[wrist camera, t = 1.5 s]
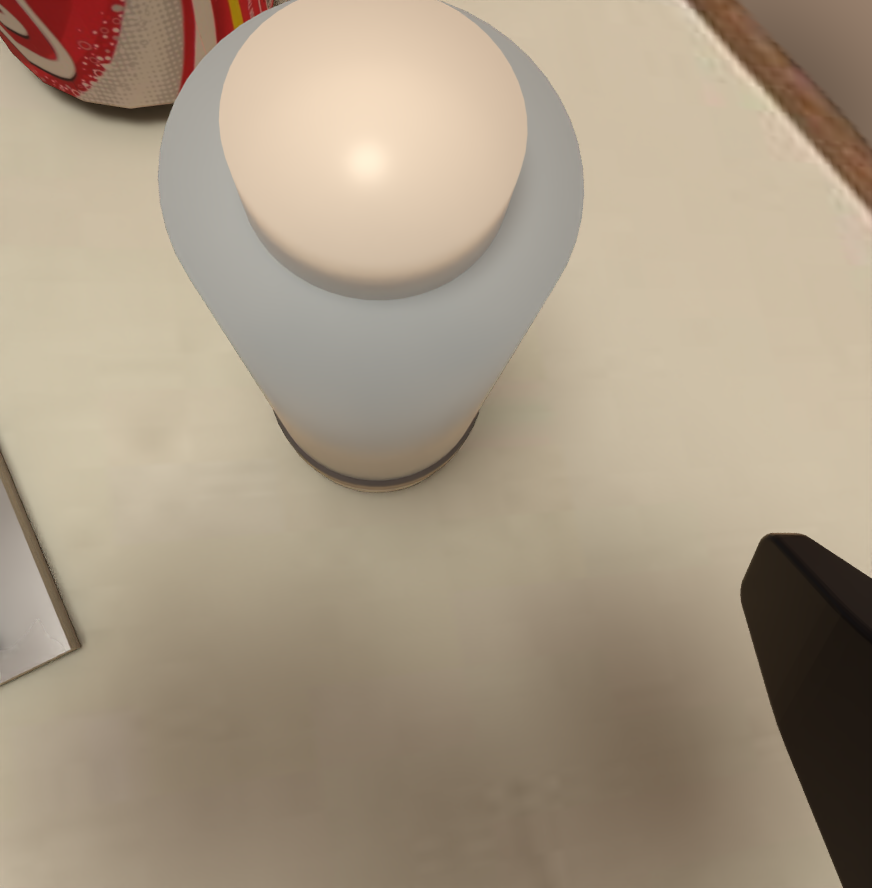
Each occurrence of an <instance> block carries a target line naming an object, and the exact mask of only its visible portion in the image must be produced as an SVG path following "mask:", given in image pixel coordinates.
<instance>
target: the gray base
mask: <svg viewBox="0 0 872 888" xmlns="http://www.w3.org/2000/svg"><path fill="white" fill-rule="evenodd" d="M79 647H81V646H80V643H79V641H78V638H77V636H76V634H75V631H74V629H73V626H72V624H71V621H70V619H69V617H68V614H67V612H66V609H65V607H64V604H63V602H62V600H61V597H60V595H59V592H58V590H57V588H56V585H55V583H54V580H53V578H52V575H51V573H50V571H49V568H48V566H47V563H46V561H45V559H44V556H43V554H42V551H41V549H40V546H39V544H38V542H37V539H36V537H35V534H34V532H33V529H32V527H31V525H30V522H29V520H28V517H27V515H26V513H25V510H24V508H23V505H22V503H21V500H20V498H19V496H18V493H17V491H16V488H15V486H14V484H13V481H12V479H11V476H10V474H9V471H8V469H7V467H6V464H5V462H4V459H3V457H2V454H1V452H0V686H1V685H3V684H5V683H7V682H9V681H11V680H14V679H16V678H18V677H20V676H22V675H24V674H26V673H28V672H30V671H32V670H34V669H36V668H38V667H40V666H42V665H44V664H46V663H49V662H51V661H53V660H55V659H57V658H59V657H61V656H63V655H65V654H67V653H69V652H71V651H73V650H75V649H77V648H79Z"/></svg>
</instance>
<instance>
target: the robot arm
mask: <svg viewBox="0 0 872 888" xmlns="http://www.w3.org/2000/svg"><path fill="white" fill-rule="evenodd" d="M740 596H741V603H742V607H743V611H744V614H745V617H746V621H747V624H748V628H749V631H750V635H751V638H752V642H753V645H754V649H755V652H756V655H757V659H758V662H759V666H760V669H761V673H762V676H763V680H764V683H765V687H766V690H767V693H768V697H769V700H770V704H771V707H772V710H773V713H774V716H775V719H776V722H777V725H778V728H779V731H780V733H781V736H782V739H783V741H784V744H785V746H786V749H787V751H788V754H789V756H790V759H791V761H792V764H793V766H794V768H795V771H796V773H797V776H798V778H799V781H800V783H801V786H802V788H803V791H804V793H805V795H806V798H807V800H808V803H809V805H810V808H811V810H812V813H813V815H814V818H815V820H816V822H817V825H818V827H819V830H820V832H821V835H822V837H823V840H824V842H825V845H826V847H827V849H828V852H829V854H830V857H831V859H832V862H833V864H834V867H835V869H836V872H837V874H838V876H839V879H840V881H841V884H842V886H843V888H872V578H870V577H869V576H867V575H866V574H864V573H862V572H861V571H859V570H858V569H856V568H855V567H853V566H852V565H850V564H849V563H847V562H846V561H844V560H843V559H841V558H840V557H838V556H837V555H835V554H834V553H832V552H831V551H829V550H827V549H826V548H824V547H823V546H821V545H820V544H818V543H817V542H815V541H814V540H812V539H811V538H809V537H807V536H806V535H803V534H798V533H770V534H767V535H765V536H764V537H763V538H762V539H761V541H760V542H759V544H758V547H757V549H756V551H755V554H754V556H753V558H752V560H751V563H750V565H749V567H748V569H747V572H746V574H745V576H744V579H743V581H742V584H741V594H740Z"/></svg>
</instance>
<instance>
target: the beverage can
mask: <svg viewBox="0 0 872 888" xmlns="http://www.w3.org/2000/svg"><path fill="white" fill-rule="evenodd" d="M273 2H274V0H0V36H1V38H2V39H3V41H4V42H5V44H6V45H7V46H8V48H9V49H10V51H11V52H12V53H13V54H14V55H15V56H16V57H17V58H18V59H19V60H20V61H21V62H22V63H23V64H24V65H25V66H27V67H28V68H29V69H30V70H31V71H32V72H33V73H34V74H35V75H36V76H37V77H38V78H40V79H41V80H42V81H43V82H44V83H46V84H48V85H50V86H52V87H55V88H57V89H59V90H61V91H63V92H65V93H67V94H70V95H72V96H74V97H76V98H78V99H80V100H82V101H85V102H91V103H97V104H104V105H110V106H117V107H123V108H130V109H131V108H139V107H147V106H155V105H163V104H172V103H174V102H175V100H176V98H177V96H178V95H179V93H180V91H181V89H182V87H183V86H184V84H185V82H186V80H187V79H188V77H189V76H190V75H191V73H192V72H193V71H194V69H195V68H196V67H197V65H198V64H199V63H200V61H201V60H202V59H203V58H204V57H205V56H206V55H207V54H208V53H209V52H210V51H211V50H212V49H213V48H214V47H215V46H216V45H217V44H218V43H219V42H220V41H221V40H222V39H223V38H224V37H226V36H227V35H228V34H230V33H231V32H232V31H234V30H235V29H236V28H237V27H239V26H240V25H241V24H243V23H245V22H246V21H248V20H250V19H252V18H253V17H255V16H257V15H258V14H260V13H262V12H264V11H266V10H268V9H271V8H272V7H273Z"/></svg>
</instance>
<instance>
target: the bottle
mask: <svg viewBox="0 0 872 888" xmlns="http://www.w3.org/2000/svg"><path fill="white" fill-rule="evenodd" d="M158 183H159V196H160V205H161V209H162V214H163V218H164V223H165V227H166V230H167V233H168V235H169V238H170V241H171V243H172V246H173V248H174V251H175V254H176V256H177V257H178V259H179V261H180V263H181V265H182V266H183V268H184V270H185V272H186V273H187V275H188V277H189V279H190V280H191V282H192V283H193V285H194V287H195V288H196V290H197V291H198V293H199V294H200V296H201V297H202V299H203V301H204V302H205V304H206V305H207V307H208V308H209V310H210V311H211V313H212V315H213V316H214V318H215V319H216V321H217V322H218V324H219V325H220V327H221V329H222V330H223V332H224V333H225V335H226V336H227V338H228V339H229V341H230V343H231V344H232V346H233V347H234V349H235V350H236V352H237V354H238V355H239V357H240V358H241V360H242V361H243V363H244V364H245V366H246V368H247V369H248V371H249V372H250V374H251V375H252V377H253V378H254V380H255V382H256V383H257V385H258V386H259V388H260V389H261V391H262V392H263V394H264V396H265V397H266V399H267V400H268V402H269V403H270V405H271V406H272V408H273V411H274V413H275V416H276V418H277V421H278V424H279V425H280V427H281V429H282V431H283V433H284V434H285V436H286V438H287V439H288V441H289V442H290V444H291V445H292V446H293V448H294V449H295V450H296V452H297V453H298V454H299V455H300V456H301V457H302V458H303V459H304V460H305V461H306V462H307V463H308V464H309V465H310V466H311V467H313V468H314V469H315V470H316V471H318V472H319V473H321V474H322V475H324V476H325V477H326V478H328V479H330V480H331V481H333V482H335V483H337V484H339V485H342V486H344V487H347V488H350V489H354V490H357V491H363V492H371V493H383V492H391V491H397V490H401V489H405V488H408V487H410V486H413V485H415V484H417V483H419V482H421V481H423V480H425V479H426V478H428V477H429V476H431V475H432V474H433V473H435V472H436V471H437V470H439V469H440V468H441V467H443V466H444V465H445V464H446V463H447V462H448V461H449V460H450V459H451V458H452V457H453V456H454V455H455V454H456V452H457V451H458V450H459V448H460V447H461V446H462V444H463V443H464V441H465V440H466V438H467V436H468V435H469V433H470V431H471V430H472V428H473V426H474V424H475V421H476V419H477V416H478V414H479V410H480V407H481V406H482V404H483V403H484V401H485V399H486V398H487V396H488V394H489V393H490V391H491V389H492V388H493V386H494V385H495V383H496V381H497V380H498V378H499V376H500V375H501V373H502V372H503V370H504V368H505V367H506V365H507V363H508V362H509V360H510V358H511V357H512V355H513V354H514V352H515V350H516V349H517V347H518V345H519V344H520V342H521V340H522V339H523V337H524V336H525V334H526V332H527V331H528V329H529V327H530V326H531V324H532V323H533V321H534V319H535V318H536V316H537V314H538V313H539V311H540V309H541V308H542V306H543V305H544V303H545V301H546V300H547V298H548V296H549V295H550V293H551V291H552V290H553V288H554V286H555V285H556V283H557V281H558V280H559V278H560V276H561V274H562V273H563V271H564V269H565V267H566V266H567V263H568V261H569V258H570V256H571V253H572V251H573V248H574V246H575V243H576V239H577V235H578V231H579V227H580V223H581V219H582V210H583V199H584V180H583V166H582V160H581V155H580V150H579V144H578V141H577V138H576V135H575V132H574V129H573V126H572V123H571V120H570V118H569V116H568V114H567V112H566V110H565V107H564V105H563V103H562V101H561V99H560V97H559V96H558V94H557V93H556V91H555V90H554V88H553V87H552V85H551V84H550V82H549V80H548V79H547V77H546V76H545V75H544V74H543V72H542V71H541V70H540V69H539V68H538V67H537V65H536V64H535V63H534V62H533V61H532V59H531V58H530V57H529V56H528V55H527V54H526V53H525V52H523V51H522V50H521V49H520V48H519V47H518V46H517V45H516V44H515V43H514V42H513V41H512V40H510V39H509V38H508V37H506V36H505V35H504V34H502V33H501V32H499V31H498V30H497V29H495V28H494V27H492V26H491V25H490V24H488V23H486V22H484V21H483V20H481V19H479V18H477V17H475V16H474V15H472V14H470V13H468V12H466V11H464V10H462V9H459V8H457V7H455V6H452V5H450V4H447V3H445V2H443V1H439V0H290V1H287V2H285V3H282V4H280V5H278V6H275V7H273V8H271V9H268V10H266V11H264V12H262V13H260V14H258V15H257V16H255V17H253V18H252V19H250V20H248V21H246V22H245V23H243V24H241V25H240V26H239V27H237V28H236V29H235V30H234V31H232V32H231V33H230V34H228V35H227V36H226V37H224V38H223V39H222V40H221V41H220V42H219V43H218V44H217V45H216V46H215V47H214V48H213V49H212V50H211V51H210V52H209V53H208V54H207V55H206V56H205V57H204V58H203V59H202V60H201V61H200V63H199V64H198V65H197V67H196V68H195V69H194V71H193V72H192V73H191V75H190V76H189V77H188V79H187V80H186V82H185V84H184V86H183V87H182V89H181V91H180V93H179V95H178V96H177V98H176V100H175V102H174V104H173V107H172V110H171V112H170V115H169V118H168V120H167V123H166V125H165V130H164V134H163V139H162V143H161V148H160V156H159V170H158Z"/></svg>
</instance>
